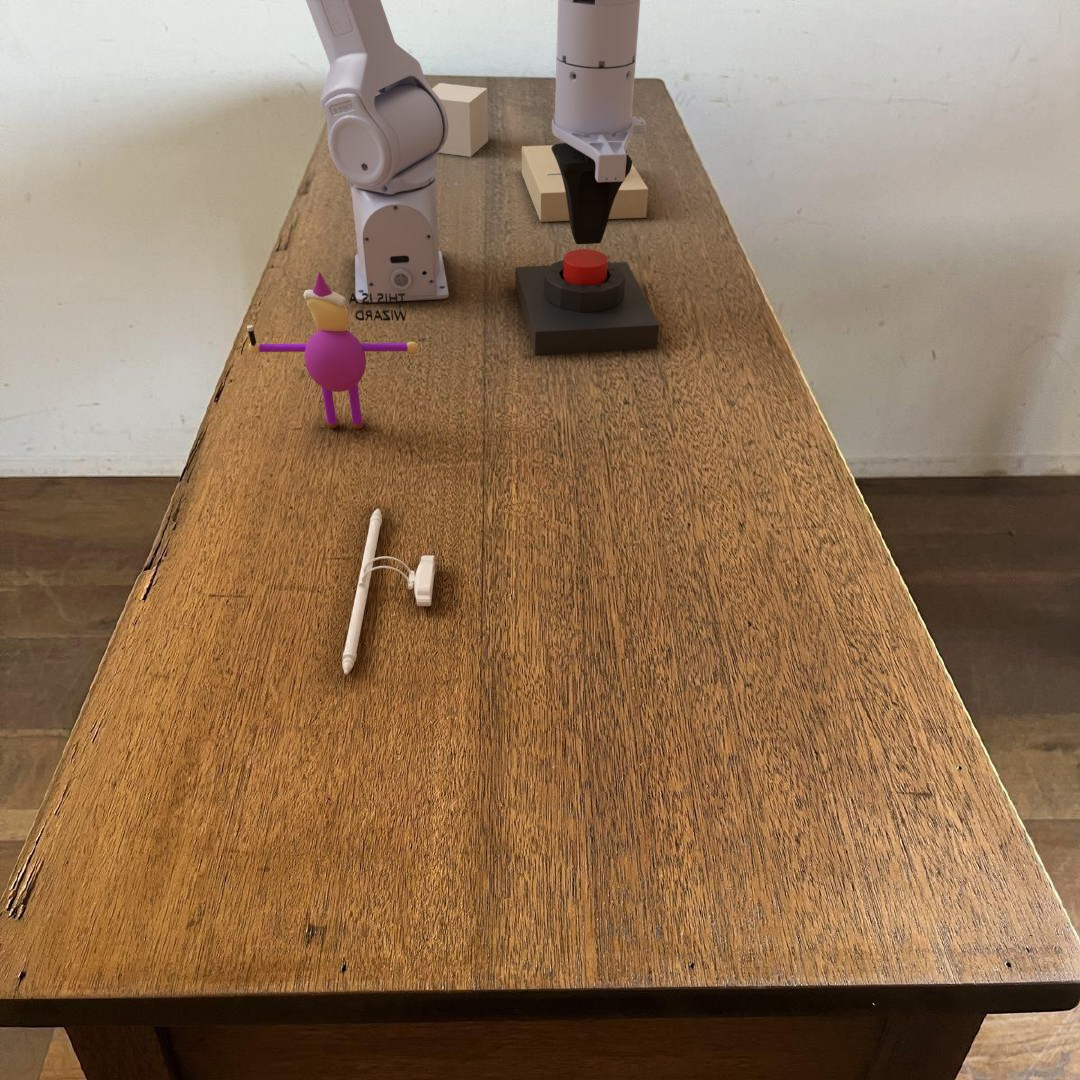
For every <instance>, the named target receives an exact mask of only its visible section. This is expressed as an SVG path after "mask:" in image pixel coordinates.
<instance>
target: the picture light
mask: <svg viewBox="0 0 1080 1080" xmlns="http://www.w3.org/2000/svg"><path fill="white" fill-rule="evenodd" d="M382 524H383V515H382V511H381V509H380V508H376V509H375V510H374V511H373V513H372V514H371V516H370V519H369V527H368V532H367V538H366V543H365V547H364V553H363V557H362V562H361V566H360V567H361V568H360V573H359V576H358V580H357V581H358V582H357V587H356V592H355V596H354V602H353V607H352V611H351V616H350V621H349V627H348V632H347V637H346V641H345V645H344V646H345V647H344V650H343V652H342V657H341V660H342V662H341V665H342V670H343V673H344V675H349V673H350V672H351V671H352V669H353V667H354V666H355V662H356V661H357V656H358V654H357V652H358V648H359V647H358V646H359V641H360V635H361V631H362V625H363V621H364V620H363V619H364V615H365V614H364V613H365V608H366V604H367V599H368V595H369V594H368V593H369V588H370V583H371V577H372V572H373V571H375V570H379V569H388V570H392V571H396V572H397V573H399V574H401V575H402V576H403V577H404V578H405V581H406V582H407V590H409V591H410V590H414V597H415V600H416V606H417V607H430V606H431V605H432V597H433V588H434V579H435V572H436V555H422V556H421V557H420V562H419V564H418V566H417V569H416V571H414V570H411V568H410V567H409V566H408V565H407V563H405V562H404V561H402V560H401V559H399V558H396V557H393V556H387V555H386V556H385V555H384V556H377V557H375V555H376V552H377V551H376V550H377V546H378V540H379V535H380V530H381V529H380V528H381V526H382ZM382 559H383V560H384V559H388V560H392V561H396V562H398V563H400V564H401V565H403V566H404V567H405V568H406V570H407V571H408V574H409V575H408V576H407V575H406V574H405V573H404V572H403V571H401V570H400V569H398V568H396V567H393V566H390V565H389V566H388V565H378V566H374V562H375V561H378V560H382Z"/></svg>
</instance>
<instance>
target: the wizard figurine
mask: <svg viewBox="0 0 1080 1080" xmlns="http://www.w3.org/2000/svg"><path fill="white" fill-rule="evenodd" d="M302 295H303V298H304V300H305V301H306V306H307V308H308V309H309V311H310V313H311V316H312V319H313V321H314V324H315V326H316V327H317V329H319V330H317V331H316V332H315V333H313V334H312V335H311V336H310V338H309V340H308V341H307V343H260V342H258V341H257V338H256V335H255V330H254V326H253V324H247V326H246V329H247V333H248V337H249V342H250V343H249V344H248V350H249V352H250V353H252V354H260V353H304V363H305V368H306V370H307V373H308V374H309V376H310V378H311V379H312V380H313V381H314V382H315V384H317V385H318V386H319V387H321V390H322V397H323V404H324V410H325V418H326V422H325V423H326V426H327V427H328V428H330V429H335V428H337V427H338V426H339V424H340V419H339V418H338V417H337V416H336V408H335V401H334V395H333V392H334V393H335V392H336V393H342V392H346V391H348V396H349V404H350V412H351V419H352V421H351V426H352V428H353V429H354V430H362V428H364V426H365V421H364V419H363V417H362V409H361V401H360V394H359V385H358V384H359V383H360V382H361V380H362V379H363V377H364V375H365V371H366V368H367V357H366V352H407V353H408V354H411V355H412V354H416V353H417V352H418V350H419V345H418V344H417V343H416V342H415V341H408V342H381V343H379V342H378V343H377V342H375V343H374V342H373V343H371V342H370V343H369V342H367V343H364V342H361V341H360V340H359V338H357V337H356V335H354V333H352V332H350V331H349V330H348V328H349V323H350V319H349V318H350V315H349V311H348V308H347V306H346V302H347V301H346V297H344V296H343V295H341V294H339V293H338V292H335V291H332V290H331V288H330V286H329V285H328V283H327V281H326V280H325V278H324V277H323V275H322V273H321V271H318V274H317V276H316V280H315V283H314V286H313V288H312V289H306V290H305V291H303V294H302ZM362 296H366V297H364V298H363V300H362V302H363V303H362V304H364V305H368V304H371V305H373V303H372V294H371V293H370V301H371V303H369V301H364V300H366V299H367V298H368V294H367V293H362ZM377 296H382V297H380V298H378V302H377V303H378V304H380V305H383V304H386V305H387V304H388V302H387V293H385V298H386V302H384V301H379V300H381V299H383V296H384V295H383V294H382V293H378V294H377ZM395 296H396V297H391V293H389V300H390V302H389V304H392V302H391V300H396V301H395V304H396V305H398V304H399V303H398V302H399V301H397V293H396V294H395ZM398 296H401V300H402V301H401V305H403V304H404V301H403V296H405V293H398ZM352 302H355V304H356V305H358V304H359V303H358V301H357V299H356V294H355V293H354V292H352V293H351V296H350V298H349V302H348V304H349V305H350V304H351V303H352ZM407 311H408V310H407V309H405V311H404V315H403V312H402V310H401V309H399V312H398V313H397V311H396V310H395V309H394V310H393V309H382V311H381V312H382V314H383V315H384V317H382V315H381V313H380V311H379V310H378V309H377V310H376V311H375V315H374V317H373V310H372V309H367V310H365V315H364V309H359V310H356V311H355V319H356V320H357V321H367V320H368V319H369V318H370V321H374V322H375V321H376V319H379V320H380V321H381V322H382V321H383V322H384V321H392V322H393V321H394V316H395V318H396V321H398V322H399V321H400V317H401V320H402V321H403V322H404V321H405V320H406V315H407V313H408V312H407ZM358 314H361V317H359V316H358ZM388 314H390V316H389V315H388ZM365 316H366V317H365Z"/></svg>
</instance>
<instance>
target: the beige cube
mask: <svg viewBox="0 0 1080 1080" xmlns="http://www.w3.org/2000/svg"><path fill="white" fill-rule="evenodd" d="M431 89H432V90H433V91H434V92H435V93H436V95H437V96H438V97H439V98H440V100H441V102H442V103H443V106H444V108H445V110H446V114H447V118H448V135H447V139H446V142H445V144H444V145H443V147H442V148H441V150H440V151H439V152H438V153H439V154H447V155H454V156H462V157H468V158H469V157H470V158H471V157H472V156H474V155H475V154H476V153H477V152H478V151H479V150H480V149H481V148H483V146H484V145H486V144H487V143H488V142H489V101H488V100H489V99H488V96H489V95H488V87H481V86H480V87H479V86H470V85H461V84H452V83H443V82H439V83H438V84H436V85H435V86H433V87H432V88H431ZM438 153H437V154H438Z"/></svg>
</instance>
